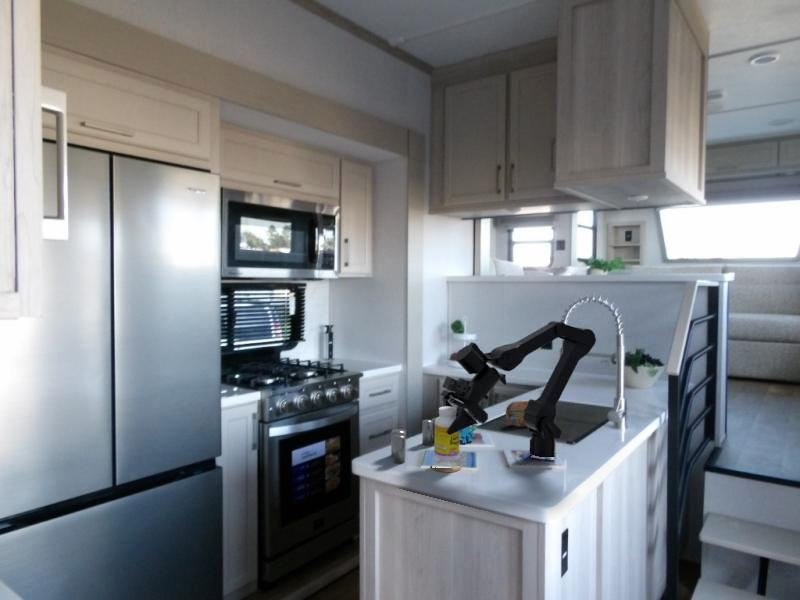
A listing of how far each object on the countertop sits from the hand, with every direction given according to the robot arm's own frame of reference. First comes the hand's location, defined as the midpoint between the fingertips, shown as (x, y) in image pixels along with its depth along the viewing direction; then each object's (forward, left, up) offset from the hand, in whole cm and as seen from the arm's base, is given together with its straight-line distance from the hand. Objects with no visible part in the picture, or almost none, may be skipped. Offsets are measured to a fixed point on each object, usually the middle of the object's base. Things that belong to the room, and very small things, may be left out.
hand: (442, 430), depth 150 cm
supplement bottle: (-1, -1, -7) cm, 8 cm away
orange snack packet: (-14, -54, -10) cm, 56 cm away
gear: (+2, -26, -10) cm, 28 cm away
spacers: (+11, -11, -10) cm, 19 cm away
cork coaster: (-1, -1, -10) cm, 10 cm away
